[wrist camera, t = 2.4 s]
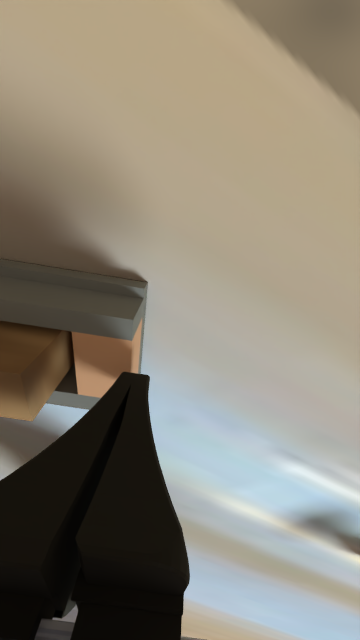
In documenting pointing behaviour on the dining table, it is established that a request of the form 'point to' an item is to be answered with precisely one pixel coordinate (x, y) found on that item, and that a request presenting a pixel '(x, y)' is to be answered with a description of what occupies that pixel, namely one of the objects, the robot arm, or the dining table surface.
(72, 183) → the dining table surface
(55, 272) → the rail
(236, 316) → the dining table surface
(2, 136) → the dining table surface
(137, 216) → the dining table surface
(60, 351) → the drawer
